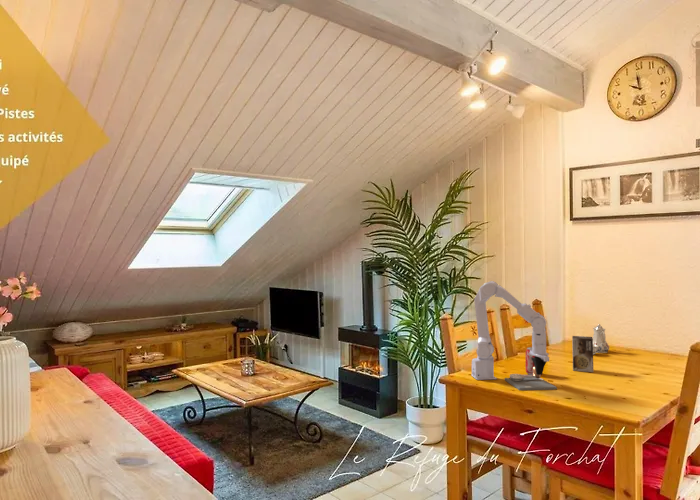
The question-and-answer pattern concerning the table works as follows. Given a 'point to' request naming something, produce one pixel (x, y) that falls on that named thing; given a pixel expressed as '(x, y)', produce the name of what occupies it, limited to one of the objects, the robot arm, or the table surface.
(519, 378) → the crank handle
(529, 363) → the soda can
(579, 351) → the coffee box
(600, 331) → the chinaware
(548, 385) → the base plate
